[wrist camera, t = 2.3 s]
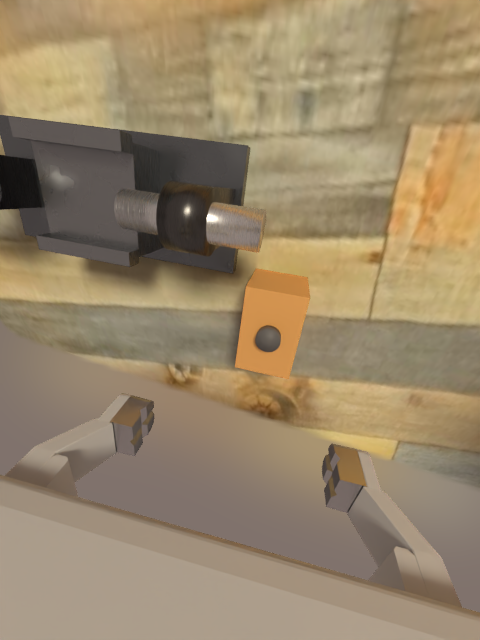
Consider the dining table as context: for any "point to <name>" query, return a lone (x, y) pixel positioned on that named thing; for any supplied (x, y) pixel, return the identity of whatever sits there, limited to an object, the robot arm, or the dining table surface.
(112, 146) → the shaft stand
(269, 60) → the dining table surface
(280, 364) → the block
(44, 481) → the robot arm
